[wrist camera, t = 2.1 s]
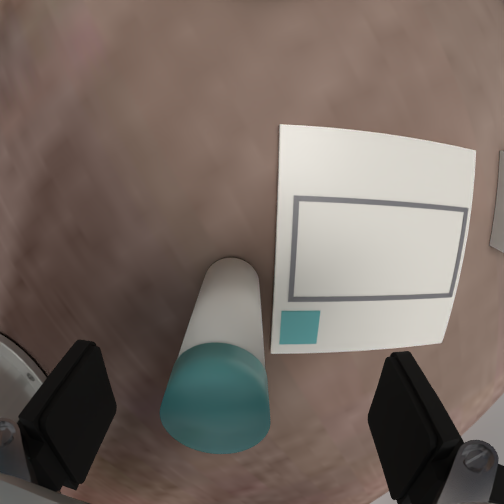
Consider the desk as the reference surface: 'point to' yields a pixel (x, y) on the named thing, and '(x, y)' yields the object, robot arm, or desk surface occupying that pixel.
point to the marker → (221, 366)
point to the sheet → (366, 239)
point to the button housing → (499, 211)
